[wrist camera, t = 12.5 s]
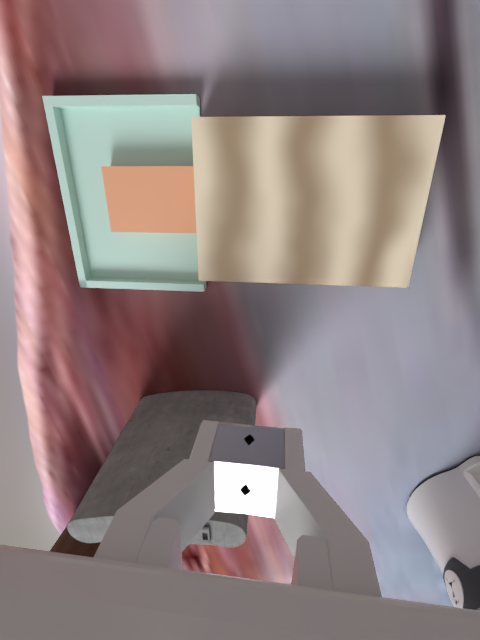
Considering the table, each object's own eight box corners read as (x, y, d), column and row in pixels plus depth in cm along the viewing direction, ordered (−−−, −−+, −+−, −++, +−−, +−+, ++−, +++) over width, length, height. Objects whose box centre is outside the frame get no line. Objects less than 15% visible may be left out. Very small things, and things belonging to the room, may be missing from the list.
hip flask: (142, 415, 47) (57, 573, 28) (135, 390, 45) (40, 541, 27) (257, 412, 44) (245, 581, 26) (254, 387, 43) (240, 547, 25)
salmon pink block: (200, 166, 33) (196, 166, 31) (203, 229, 35) (199, 233, 33) (110, 166, 33) (101, 166, 32) (119, 228, 36) (111, 231, 34)
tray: (199, 97, 31) (196, 94, 29) (206, 287, 38) (204, 291, 36) (52, 99, 32) (42, 95, 30) (87, 282, 39) (80, 287, 38)
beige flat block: (424, 121, 30) (445, 114, 26) (394, 275, 35) (408, 287, 32) (200, 122, 31) (191, 116, 28) (206, 269, 37) (198, 280, 34)
